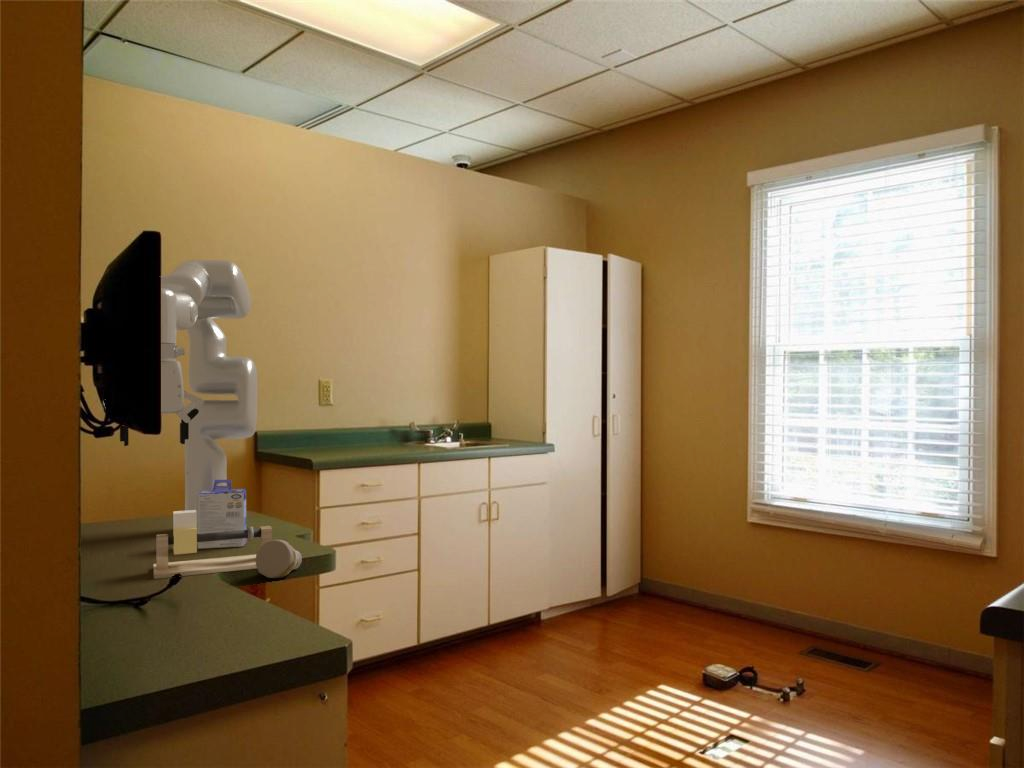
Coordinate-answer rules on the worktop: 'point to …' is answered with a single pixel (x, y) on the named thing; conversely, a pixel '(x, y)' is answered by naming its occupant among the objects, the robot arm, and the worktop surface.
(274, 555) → the mug
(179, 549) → the sleeve
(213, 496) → the ink cartridge box
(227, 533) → the roller holder rack
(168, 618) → the worktop surface
